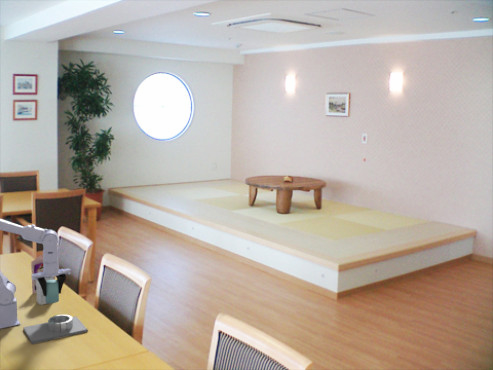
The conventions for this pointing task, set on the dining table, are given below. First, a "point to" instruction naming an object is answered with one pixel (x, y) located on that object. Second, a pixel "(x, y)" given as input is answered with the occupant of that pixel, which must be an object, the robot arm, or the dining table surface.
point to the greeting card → (37, 271)
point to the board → (44, 334)
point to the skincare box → (41, 292)
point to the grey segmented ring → (60, 323)
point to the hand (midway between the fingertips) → (52, 294)
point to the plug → (52, 291)
